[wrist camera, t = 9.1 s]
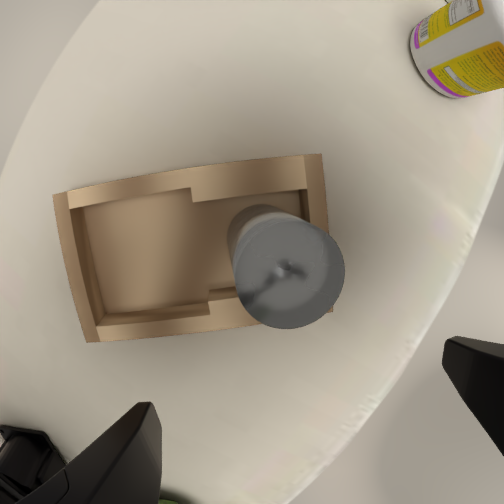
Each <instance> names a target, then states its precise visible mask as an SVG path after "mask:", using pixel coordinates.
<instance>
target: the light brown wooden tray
mask: <svg viewBox="0 0 504 504" xmlns="http://www.w3.org/2000/svg"><path fill="white" fill-rule="evenodd" d="M53 202H54V209H55V215H56V221H57V227H58V233H59V238H60V243H61V248H62V253H63V258H64V262H65V267H66V271H67V275H68V280H69V284H70V288H71V291H72V295H73V299H74V303H75V306H76V310H77V313H78V317H79V320H80V323H81V327H82V330H83V333H84V336H85V339H86V342H87V343H88V342H104V341H118V340H130V339H142V338H152V337H162V336H172V335H181V334H190V333H199V332H207V331H215V330H222V329H230V328H237V327H244V326H251V325H258V324H262V323H261V322H259V321H257V320H256V319H255V318H253V317H252V316H251V315H250V314H249V313H248V312H247V311H246V310H245V308H244V307H243V305H242V303H241V302H240V300H239V297H238V294H237V290H236V285H235V280H234V275H233V270H232V265H231V260H230V255H229V249H228V244H227V232H228V228H229V225H230V223H231V221H232V220H233V218H234V217H235V216H236V215H237V214H238V213H239V212H240V211H241V210H243V209H244V208H246V207H248V206H251V205H256V204H267V205H271V206H274V207H276V208H279V209H281V210H283V211H285V212H287V213H290V214H292V215H294V216H296V217H298V218H300V219H302V220H305V221H307V222H309V223H311V224H313V225H315V226H317V227H319V228H321V229H322V230H324V231H325V232H326V233H328V234H329V228H328V216H327V204H326V193H325V183H324V173H323V164H322V155H321V154H309V155H296V156H284V157H273V158H263V159H254V160H245V161H236V162H228V163H220V164H213V165H205V166H198V167H192V168H185V169H179V170H172V171H166V172H160V173H154V174H149V175H143V176H138V177H132V178H127V179H122V180H117V181H112V182H107V183H102V184H98V185H93V186H88V187H84V188H80V189H75V190H71V191H67V192H62V193H58V194H54V195H53ZM329 312H333V306H332V307H331V308H330V309H329V311H328V312H327V313H329Z"/></svg>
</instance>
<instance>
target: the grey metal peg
mask: <svg viewBox="0 0 504 504" xmlns="http://www.w3.org/2000/svg"><path fill="white" fill-rule="evenodd" d="M227 244H228V249H229V255H230V260H231V265H232V270H233V275H234V280H235V285H236V290H237V294H238V297H239V300H240V302H241V303H242V305H243V307H244V308H245V310H246V311H247V312H248V313H249V314H250V315H251V316H252V317H253V318H255V319H256V320H257V321H259V322H261V323H262V324H265V325H267V326H270V327H274V328H279V329H293V328H299V327H303V326H306V325H308V324H310V323H312V322H314V321H316V320H318V319H319V318H321V317H322V316H323V315H324V314H325V313H327V312H328V311H329V309H330V308H331V307H332V306H333V305H334V303H335V302H336V300H337V298H338V297H339V294H340V292H341V290H342V286H343V282H344V275H345V268H344V261H343V256H342V254H341V251H340V249H339V247H338V245H337V243H336V242H335V241H334V239H333V238H332V237H331V236H330V235H329V234H328V233H326V232H325V231H324V230H322V229H321V228H319V227H317V226H315V225H313V224H311V223H309V222H307V221H305V220H302V219H300V218H298V217H296V216H294V215H292V214H290V213H287V212H285V211H283V210H281V209H279V208H276V207H274V206H271V205H267V204H256V205H251V206H248V207H246V208H244V209H243V210H241V211H240V212H239V213H238V214H237V215H236V216H235V217H234V218H233V220H232V221H231V223H230V225H229V228H228V232H227Z"/></svg>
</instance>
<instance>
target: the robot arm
mask: <svg viewBox="0 0 504 504" xmlns="http://www.w3.org/2000/svg"><path fill="white" fill-rule="evenodd" d="M442 366H443V368H444V370H445V372H446V373H447V374H448V376H449V378H450V379H451V381H452V383H453V385H454V386H455V388H456V389H457V391H458V393H459V395H460V396H461V398H462V399H463V401H464V402H465V403H466V405H467V406H468V408H469V409H470V410H471V412H472V413H473V414H474V416H475V417H476V418H477V420H478V421H479V422H480V424H481V425H482V427H483V428H484V429H485V431H486V432H487V433H488V435H489V436H490V438H491V439H492V440H493V442H494V443H495V444H496V446H497V447H498V449H499V450H500V452H501V453H502V455H503V456H504V344H498V343H493V342H487V341H481V340H476V339H471V338H466V337H460V336H455V337H452V338H449V339H447V340H446V342H445V344H444V352H443V358H442ZM0 433H1V435H2V436H3V438H4V439H5V441H4V443H3V444H2V446H1V447H0V504H158V503H159V494H160V485H161V475H162V428H161V423H160V420H159V418H158V415H157V413H156V410H155V407H154V405H153V403H151V402H138V403H137V404H135V405H134V406H133V407H132V408H131V409H130V410H129V411H128V412H127V413H125V414H124V415H123V416H122V417H121V418H120V419H119V420H118V421H117V422H115V423H114V424H113V425H112V426H111V427H110V428H109V429H107V430H106V431H105V432H104V433H103V434H102V435H101V436H100V437H98V438H97V439H96V440H95V441H94V442H93V443H92V444H90V445H89V446H88V447H87V448H86V449H85V450H84V451H82V452H81V453H80V454H79V455H78V456H77V457H75V458H74V459H73V460H72V461H71V462H70V463H68V464H67V465H65V464H64V462H63V461H62V459H61V458H60V456H59V455H58V453H57V452H56V450H55V448H54V447H53V445H52V444H51V442H50V440H49V439H48V437H47V435H46V434H45V433H43V432H40V431H33V430H26V429H19V428H13V427H7V426H2V425H1V426H0Z"/></svg>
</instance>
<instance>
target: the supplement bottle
mask: <svg viewBox="0 0 504 504" xmlns="http://www.w3.org/2000/svg"><path fill="white" fill-rule="evenodd" d="M410 46H411V52H412V56H413V59H414V61H415V64H416V66H417V68H418V70H419V71H420V73H421V74H422V76H423V77H424V79H425V80H426V81H427V82H428V83H429V84H430V85H431V86H432V87H433V88H434V89H435V90H437V91H438V92H440V93H441V94H443V95H445V96H448V97H451V98H464V97H468V96H472V95H476V94H480V93H484V92H488V91H492V90H496V89H500V88H504V0H453V1H451V2H450V3H448V4H447V5H445V6H444V7H442V8H440V9H439V10H437V11H436V12H434V13H433V14H431V15H430V16H428V17H427V18H425V19H424V20H423V21H421V22H420V23H419V24H418V25H417V26H416V27H415V28H414V30H413V32H412V35H411V41H410Z"/></svg>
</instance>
